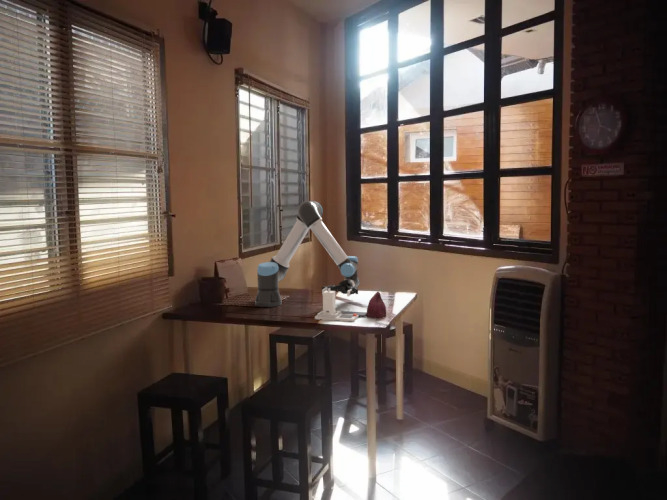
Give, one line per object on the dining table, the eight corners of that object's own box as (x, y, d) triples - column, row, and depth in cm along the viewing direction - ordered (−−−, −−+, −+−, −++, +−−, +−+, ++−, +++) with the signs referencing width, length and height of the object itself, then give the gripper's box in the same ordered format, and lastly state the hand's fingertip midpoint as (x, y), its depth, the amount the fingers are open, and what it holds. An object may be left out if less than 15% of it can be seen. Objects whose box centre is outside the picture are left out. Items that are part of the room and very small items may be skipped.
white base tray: (314, 319, 255) (314, 313, 254) (321, 314, 264) (321, 309, 264) (353, 321, 249) (353, 316, 248) (358, 317, 258) (358, 312, 258)
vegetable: (387, 324, 257) (392, 297, 252) (366, 322, 256) (371, 295, 251) (384, 314, 267) (389, 288, 262) (364, 312, 266) (369, 286, 261)
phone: (364, 317, 258) (364, 315, 258) (338, 315, 262) (338, 313, 262) (368, 314, 264) (368, 312, 264) (342, 312, 269) (342, 310, 268)
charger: (322, 316, 256) (322, 288, 254) (326, 313, 261) (325, 287, 259) (332, 316, 254) (332, 289, 253) (335, 314, 259) (335, 287, 258)
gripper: (368, 294, 282) (358, 301, 262) (325, 291, 290) (312, 298, 270) (368, 280, 282) (358, 287, 262) (325, 278, 289) (312, 284, 269)
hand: (335, 292), depth 266 cm, fingers open, 13 cm apart
